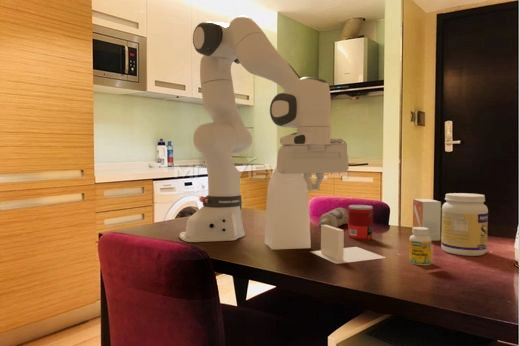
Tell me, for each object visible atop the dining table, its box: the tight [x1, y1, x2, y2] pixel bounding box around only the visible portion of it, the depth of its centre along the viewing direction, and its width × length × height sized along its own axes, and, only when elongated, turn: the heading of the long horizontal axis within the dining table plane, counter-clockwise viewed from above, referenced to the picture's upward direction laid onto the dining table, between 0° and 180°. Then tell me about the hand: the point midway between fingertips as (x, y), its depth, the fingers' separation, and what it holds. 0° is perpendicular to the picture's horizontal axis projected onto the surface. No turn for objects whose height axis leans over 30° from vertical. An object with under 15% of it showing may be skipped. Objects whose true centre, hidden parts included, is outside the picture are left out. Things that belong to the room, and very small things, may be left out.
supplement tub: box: [440, 192, 489, 257], centre depth 123 cm, size 12×12×17 cm
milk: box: [264, 164, 312, 250], centre depth 130 cm, size 12×12×26 cm
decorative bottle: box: [318, 207, 348, 229], centre depth 161 cm, size 26×8×7 cm, turn 152°
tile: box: [320, 225, 345, 260], centre depth 116 cm, size 2×9×8 cm, turn 22°
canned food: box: [347, 204, 374, 242], centre depth 142 cm, size 8×8×11 cm
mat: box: [310, 246, 387, 265], centre depth 118 cm, size 16×14×1 cm
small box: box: [412, 198, 442, 242], centre depth 143 cm, size 8×6×13 cm
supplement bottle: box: [408, 226, 432, 266], centre depth 110 cm, size 5×5×10 cm
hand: (313, 190), depth 113 cm, fingers closed
